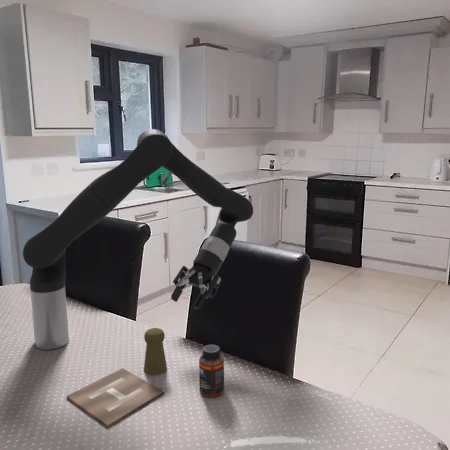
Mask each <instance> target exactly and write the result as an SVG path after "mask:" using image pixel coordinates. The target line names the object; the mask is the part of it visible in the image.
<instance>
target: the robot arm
mask: <svg viewBox="0 0 450 450" xmlns="http://www.w3.org/2000/svg"><path fill="white" fill-rule="evenodd" d="M137 138H138V139H137V143H136V147H135V148H134V149H133V150H132V152H130V154H129V155H128V156H127V157H126V158H125V159H124V160H122V162H120V164H118V165H117V166H115V167H113V168H111V169H110V170H108V171H106V172H105V173H103V174H101V175H100V176H98V177H97V178H95V179H94V180H92V181H91V182H90V183H89V184H88V185H87V186H86V187H85V188H84V189H83V190H82V191H80V193H78V195H77V196H76V197H74V199H73V200H72V201H71V202H70V203H69V204H68V205H67V207H66V208H64V210H63V211H62V212H60V215H59V216H57V218H56V219H55V220H54V221H52V222H51V223H50V224H49V225H47V226H46V227H45V228H44V229H42V230H41V231H39V232H38V233H36V234H34V235H33V236H32V237H31V238H29V239H28V240H27V241H26V243H25V244H24V246H23V249H22V257H23V260H24V262H25V264H26V265H27V266H29V267H31V268H32V273H31V277H30V280H29V287H30V288H29V289H30V299H31V300H30V301H31V309H32V312H31V314H32V324H33V325H32V327H33V334H34V342H35V343H34V344H35V347H36V348H37V349H38V350H43V351H46V350H47V351H48V350H55V349H56V350H57V349H59V348H61V347H64V346H66V345H67V344H68V343H69V341H70V337H69V323H68V322H69V321H68V308H67V296H66V283H65V282H66V274H67V266H66V264H67V262H66V260H67V259H66V249H67V248H68V247H69V246H70V245H71V244H72V243H73V242H74V241H75V240H76V239H77V238H79V237H80V236H81V235H83V234H84V233H86V232H87V231H88V230H90V229H91V228H93V227H94V226H95V225H97V224H98V223H99V222H100V221H102V220H103V219H104V218H106V216H108V215H109V214H110V213H111V212H112V211H113V210H115V208H116V207H118V206H119V205H120V203H122V202H123V200H125V199H126V197H128V196H129V195H130V194H131V193H132V192H133V190H134V189H135V188H136V187H137V186H138V185H140V184H141V183H142V182H143V181H144V180H145V179H147V178H148V177H149V176H151V175H153V174H154V173H155V172H156V171H158V170H159V169H161V168H163V169H165V170H167V171H169V172H170V173H172V174H173V175H174V176H175V177H177V178H178V179H179V180H180V181H181V182H182V183H183V184H184V185H185V186H186V187H188V189H189V190H191V191H192V192H193V193H194V194H195V195H197V197H199V198H201V199H202V200H203V201H204V202H206V203H207V204H208V205H209V206H211V207H214V208H220V210H219V212H218V216H217V217H216V218H217V219H216V222H215V225H214V227H213V229H212V230H211V232H210V234H209V236H208V237H207V238H206V240H204V242H203V244H202V246H201V247H200V249H199V251H198V253H197V255H196V256H195V258H194V259H193V262H192V263H193V265H192V267H191V268H188V267H187V266H185V265H183V266H181V268H180V270H179V271H178V273H177V274H176V276H175V278H174V279H173V280H172V283H173V284H174V285H175V288H174V290H173V292H172V294H171V296H170V299H171V300H172V302H173V301H174V302H175V303H177V302H178V301H179V298H180V297H181V295H182V293H183V292H184V290H186V289H187V288H190V287H197V288H199V289H200V290H199V292H200V293H199V294H198V296H197V297H196V299H195V301H194V303H193V304H192V306H193V308H194V309H195V310H197V311H198V310H200V309H201V308H202V307H203V306H204V305H203V304H204V303H205V301H206V300H207V299H208V298H211V299H214V298H215V296H216V294H217V293H218V290H219V287H220V286H221V283H222V282H223V281H222V278H221V277H220V276H219V275H218V272H219V270H220V268H221V267H222V265H223V263H224V261H225V259H226V257H227V256H228V253H229V250H230V249H231V246H232V244H233V243H234V241H235V239H236V237H237V234H238V233H237V230H236V228H235V227H236V225H237V224H238V223H240V222H246V221H248V220H250V219H251V218H252V217H253V214H254V207H253V204H252V202H251V201H250V200H249V199H248V198H247V197H245V196H244V195H242V194H240V193H238V192H236V191H234V190H233V189H231V188H228V187H226V186H225V185H224V184H223V183H222V182H220V181H219V180H217V179H216V178H215V177H214V176H212V175H211V174H210V173H208V172H207V171H205V170H204V169H202V168H201V167H199V165H197V164H196V163H195V162H193V161H192V160H191V159H189V158H188V157H187V156H186V155H184V153H182V151H180V150H179V149H178V148H177V146H175V145H174V143H173V142H172V141H171V140H170V138H169V137H168V135H167V134H166V133H164V132H163V131H162V130H159V129H154V128H150V129H146V130H144V131H143V132H141V134H140V135H139V136H138V137H137Z"/></svg>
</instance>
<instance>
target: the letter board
mask: <svg viewBox="0 0 450 450" xmlns="http://www.w3.org/2000/svg"><path fill="white" fill-rule="evenodd" d="M163 395H165V391H164V390H163V389H161V388H159V387H158V386H156V385H154V384H153V383H150V382H148V381H146V380H145V379H143V378H141V377H140V376H137V375H135V374H134V373H132V372H130V371H128V370H126V369H125V368H120V369H117V370H116V371H114V372H112V373H110V374H107V375H106V376H104V377H102V378H100V379H98V380H96V381H94V382H91V383H90V384H88V385H86V386H84V387H82V388H80V389H77V390H76V391H74V392H72V393H70V394H68V395H66V399H67V400H68V401H70V402H71V403H73V404H74V405H76V406H77V407H78V408H79V409H81V410H82V411H84V412H85V413H86V414H88V415H89V416H90V417H92V418H94V419H95V420H96V421H98V422H99V423H101V424H102V425H103V426H105V427H106V428H111V426H113V425H115V424H116V423H118V422H120V421H122V420H124V419H125V418H126V417H128V416H130V415H132V414H133V413H135V412H136V411H138V410H139V409H141V408H143V407H145V406H146V405H148V404H149V403H151V402H153V401H154V400H157V399H158V398H159V397H161V396H163Z"/></svg>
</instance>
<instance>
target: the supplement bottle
mask: <svg viewBox="0 0 450 450" xmlns="http://www.w3.org/2000/svg"><path fill="white" fill-rule="evenodd" d="M220 350H221V347H220V346H219V345H216V344H206V345H205V346H203V348H202V354H201V355H200V357H199V359H198V363H199V364H198V369H199V370H198V372H199V373H198V374H199V375H198V378H199V393H200V395H202V396H204V397H206V398H217V397H220V396H221V395H222V394H223V393H224V391H225V358H224V356H223V354H222V353H221V351H220Z"/></svg>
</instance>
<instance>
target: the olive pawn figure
mask: <svg viewBox="0 0 450 450" xmlns="http://www.w3.org/2000/svg"><path fill="white" fill-rule="evenodd" d="M143 338H144V342H145V343H146V345H145V346H146V347H145V354H144V355H145V356H144V365H143V372H144V373H145V374H146V375H149V376H160V375H161V374H164V373H166V372H167V369H168V367H167V366H168V365H167V360H166V355H165V354H166V353H165V349H164V341H165V338H166V337H165V331H164V330H163V329H162V328H157V327H151V328H149V329H147V330H146V331H145V332H144V337H143Z"/></svg>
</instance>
